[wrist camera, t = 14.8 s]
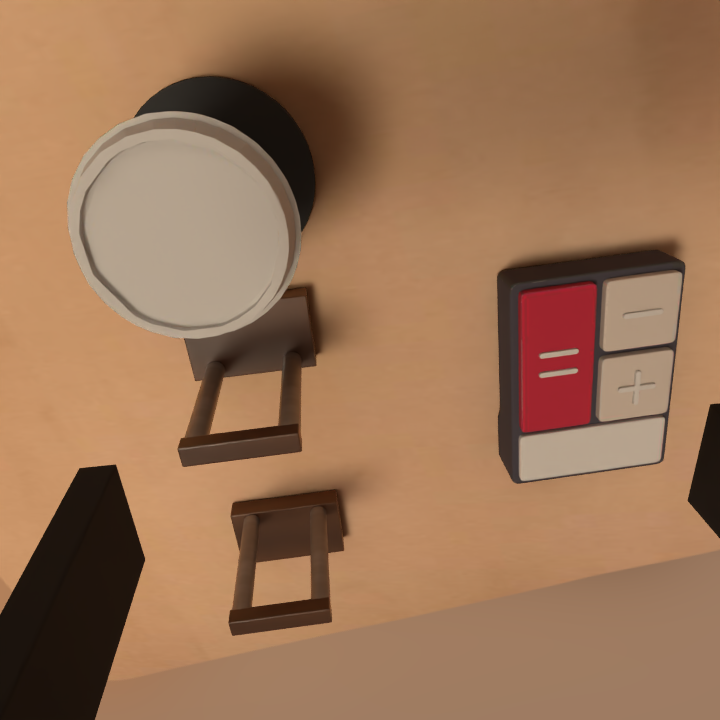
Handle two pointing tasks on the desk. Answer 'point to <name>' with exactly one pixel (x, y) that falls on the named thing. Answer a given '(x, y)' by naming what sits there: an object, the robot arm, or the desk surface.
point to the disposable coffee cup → (183, 225)
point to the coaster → (247, 125)
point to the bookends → (274, 515)
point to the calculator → (587, 363)
